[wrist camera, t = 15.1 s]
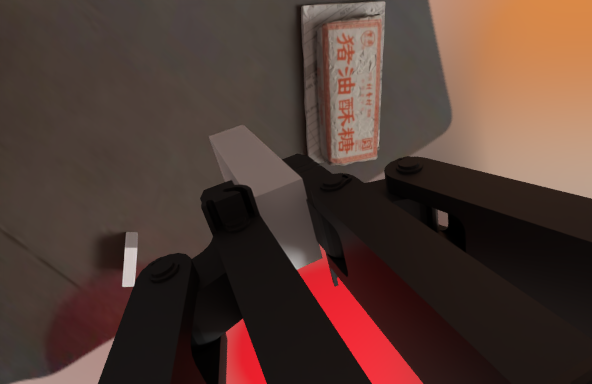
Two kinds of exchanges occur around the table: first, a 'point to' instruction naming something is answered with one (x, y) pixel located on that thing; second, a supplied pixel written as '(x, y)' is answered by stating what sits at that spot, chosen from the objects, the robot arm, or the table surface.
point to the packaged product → (343, 80)
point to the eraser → (130, 259)
